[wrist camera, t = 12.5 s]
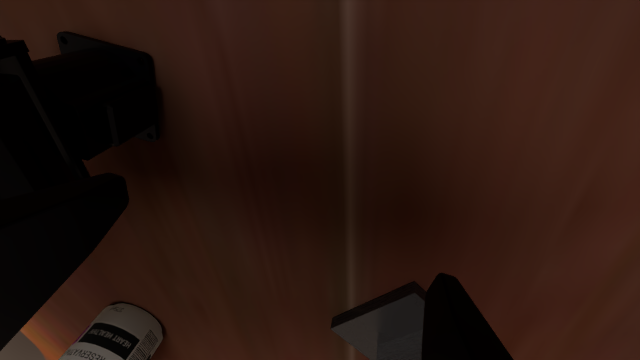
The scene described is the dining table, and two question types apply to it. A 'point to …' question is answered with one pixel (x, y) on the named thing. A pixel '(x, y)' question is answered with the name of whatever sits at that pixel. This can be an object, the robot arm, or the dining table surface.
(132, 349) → the supplement can
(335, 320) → the block
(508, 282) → the dining table surface
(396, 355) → the lock block
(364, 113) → the dining table surface
